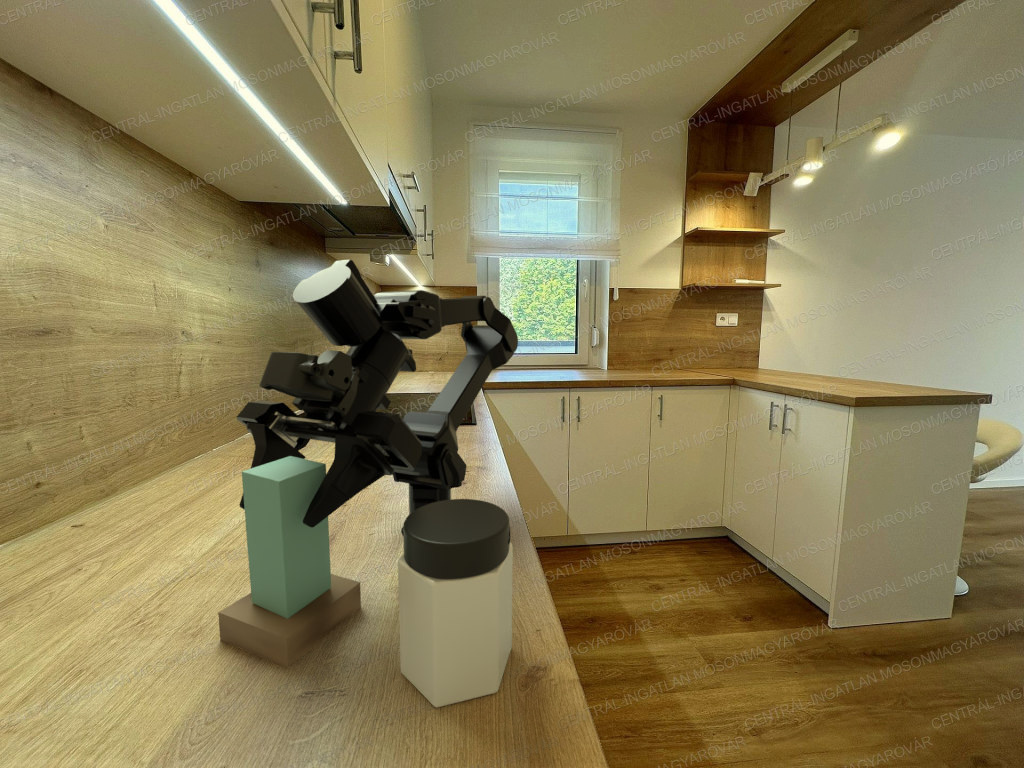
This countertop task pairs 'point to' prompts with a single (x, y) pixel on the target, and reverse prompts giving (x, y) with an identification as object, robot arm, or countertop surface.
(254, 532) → the teal block
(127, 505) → the countertop surface
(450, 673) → the jar
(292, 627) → the walnut block
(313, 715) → the countertop surface
